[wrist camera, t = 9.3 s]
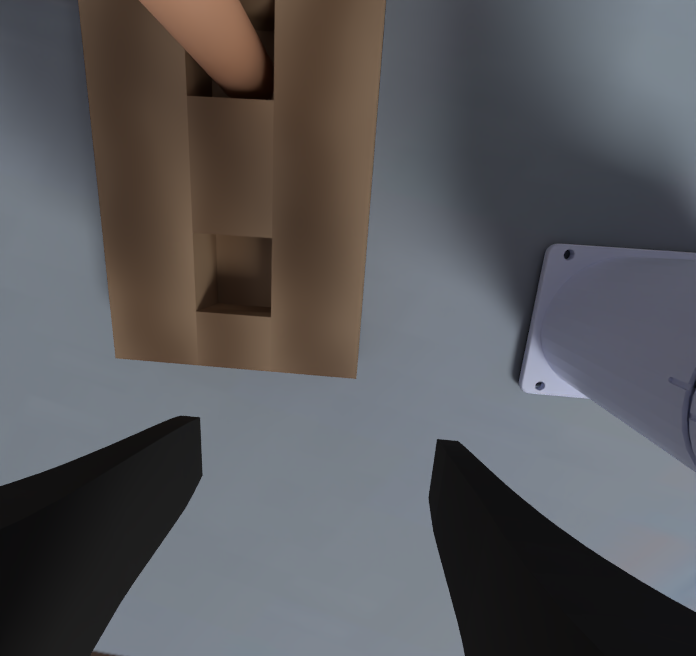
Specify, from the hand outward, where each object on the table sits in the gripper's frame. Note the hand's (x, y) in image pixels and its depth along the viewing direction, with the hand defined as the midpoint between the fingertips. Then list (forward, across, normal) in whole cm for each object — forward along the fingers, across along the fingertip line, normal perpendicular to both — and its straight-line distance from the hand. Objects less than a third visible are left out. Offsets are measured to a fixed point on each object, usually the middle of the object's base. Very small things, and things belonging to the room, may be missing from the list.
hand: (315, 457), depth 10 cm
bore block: (+9, +5, -9) cm, 14 cm away
